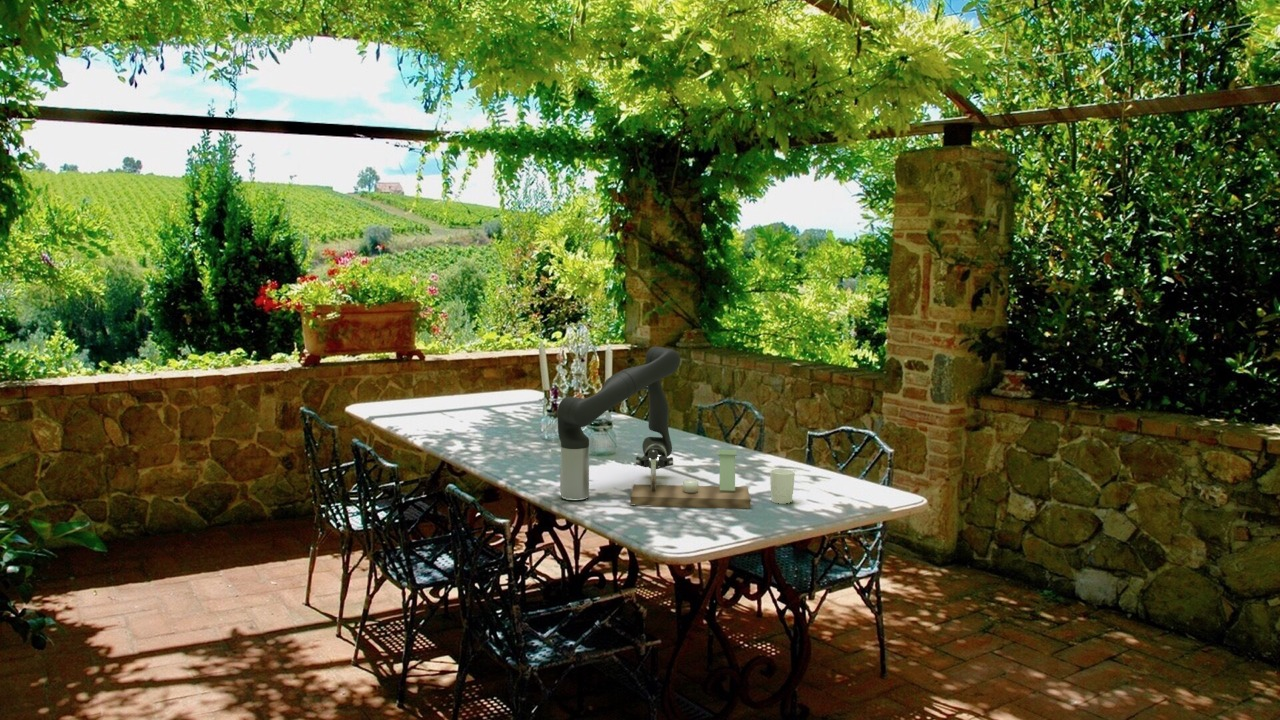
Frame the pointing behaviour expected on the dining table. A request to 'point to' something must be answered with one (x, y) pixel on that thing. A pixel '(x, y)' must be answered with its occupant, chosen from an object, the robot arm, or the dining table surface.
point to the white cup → (782, 485)
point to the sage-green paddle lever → (727, 469)
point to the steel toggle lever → (653, 468)
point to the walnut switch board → (690, 497)
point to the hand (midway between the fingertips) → (653, 466)
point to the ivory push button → (690, 486)
